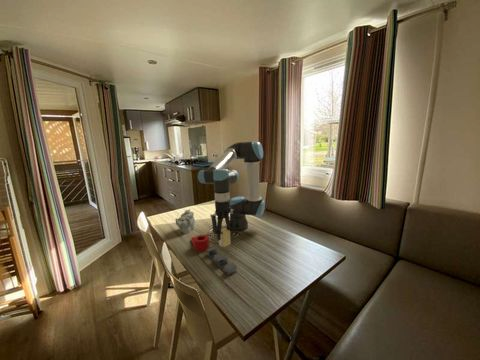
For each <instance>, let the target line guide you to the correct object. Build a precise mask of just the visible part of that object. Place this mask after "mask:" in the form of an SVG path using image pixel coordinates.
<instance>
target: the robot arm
mask: <svg viewBox="0 0 480 360" xmlns="http://www.w3.org/2000/svg"><path fill="white" fill-rule="evenodd" d="M263 158H264V149H263V146H262V143H261V142H259V141H241V142H240V141H239V142H235V143H232V144H231V145H230V146H227V148H225V150H223V153H222V155H220V157H218V158H217V159H216V160H215V161H214V162H213V163H212V164H211V165H210V166H209V167H208V168H207V169H201V170H199V171H198V174H197V180H198V182H199V183H200V184H205V185H207V184H209V185H210V184H211V185H213V189H214V190H213V191H214V192H213V193H214V209H215V211H214V213H212V214H210V219H211V224H212V232H213V234H215V235H216V239H217V240H218V245H219V246H220V247H223V242H222V234H221V229H222V226H223V221H225V227H226V228H227V229H229V231H230V237H232V232H233V231H243V230H246V229H247V228H249V222H248V219H247V217H246V216H255V217H262V216H263V215H264V211H265V208H266V201H265V200H264V199H263V197H262V196H261V189H260V188H261V187H260V163H261V162H262V159H263ZM237 160H243V162H244V164H246V177H247V178H246V179H247V180H246V182H247V194H248V195H247V197H245V196H235V197H232V198H231V196H230V195H231V194H230V191H231V190H230V186H232V185H234V184H236V183H237V182H238V181H239V178H240V173H239V172H238V171H237V170H235V169H227V168H228V167H229V165H231V163H233V162H235V161H237ZM230 244H231V240H230Z"/></svg>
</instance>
